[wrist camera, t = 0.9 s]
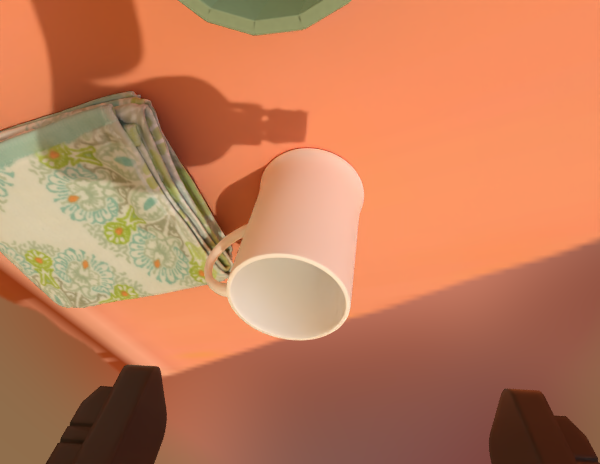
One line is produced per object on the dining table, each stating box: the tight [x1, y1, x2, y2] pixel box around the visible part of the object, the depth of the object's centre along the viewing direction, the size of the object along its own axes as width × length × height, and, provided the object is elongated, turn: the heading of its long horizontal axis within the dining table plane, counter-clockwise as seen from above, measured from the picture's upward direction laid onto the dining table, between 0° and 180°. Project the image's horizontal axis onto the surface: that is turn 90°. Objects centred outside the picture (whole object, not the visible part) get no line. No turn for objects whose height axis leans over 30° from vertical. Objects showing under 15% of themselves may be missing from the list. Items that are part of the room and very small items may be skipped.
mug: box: [204, 148, 364, 340], centre depth 37 cm, size 12×8×12 cm
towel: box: [0, 91, 233, 308], centre depth 43 cm, size 18×21×5 cm
